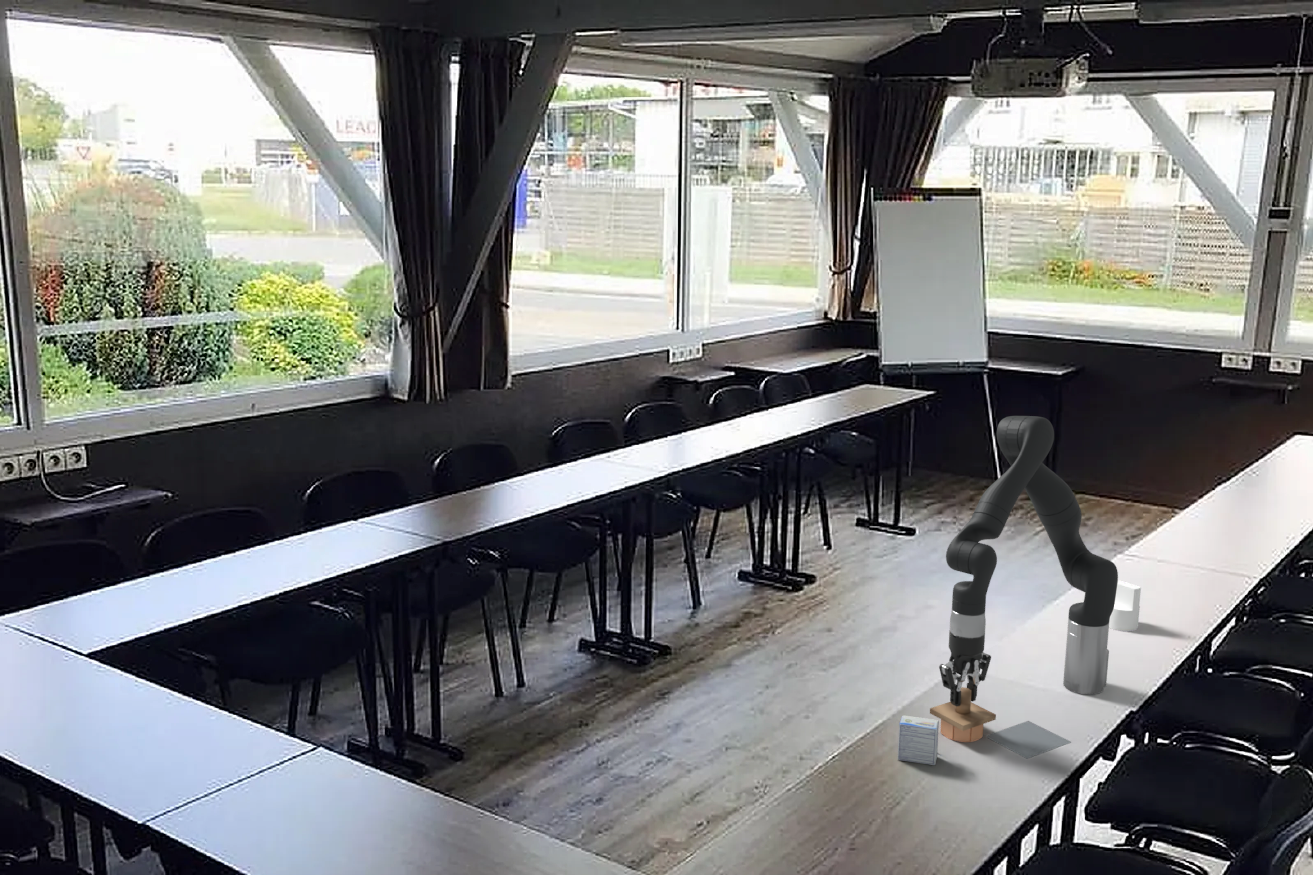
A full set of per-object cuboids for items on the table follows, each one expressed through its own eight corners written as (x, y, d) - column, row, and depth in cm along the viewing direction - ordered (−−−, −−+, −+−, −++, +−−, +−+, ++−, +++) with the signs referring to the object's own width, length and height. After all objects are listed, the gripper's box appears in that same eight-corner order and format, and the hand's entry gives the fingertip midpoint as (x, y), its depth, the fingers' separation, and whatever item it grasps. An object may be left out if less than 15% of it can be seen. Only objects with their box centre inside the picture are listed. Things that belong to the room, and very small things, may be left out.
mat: (1028, 722, 270) (1028, 720, 270) (1071, 744, 260) (1071, 741, 260) (984, 738, 262) (984, 736, 262) (1026, 760, 253) (1027, 758, 252)
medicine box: (937, 756, 254) (939, 719, 252) (935, 766, 250) (937, 728, 248) (900, 751, 257) (901, 714, 255) (897, 760, 253) (899, 723, 251)
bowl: (960, 722, 270) (961, 704, 269) (990, 738, 263) (992, 719, 262) (931, 732, 266) (932, 713, 265) (961, 748, 258) (962, 729, 257)
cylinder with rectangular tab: (1144, 626, 325) (1148, 585, 322) (1124, 634, 320) (1128, 591, 317) (1115, 616, 332) (1119, 575, 330) (1095, 623, 327) (1099, 582, 325)
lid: (962, 702, 270) (963, 677, 269) (995, 719, 262) (997, 693, 260) (929, 713, 265) (931, 687, 264) (962, 730, 257) (964, 704, 255)
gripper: (977, 617, 265) (973, 689, 269) (930, 630, 258) (927, 703, 262) (1003, 628, 259) (998, 701, 263) (956, 642, 252) (952, 716, 256)
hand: (963, 702), depth 263 cm, fingers open, 4 cm apart
